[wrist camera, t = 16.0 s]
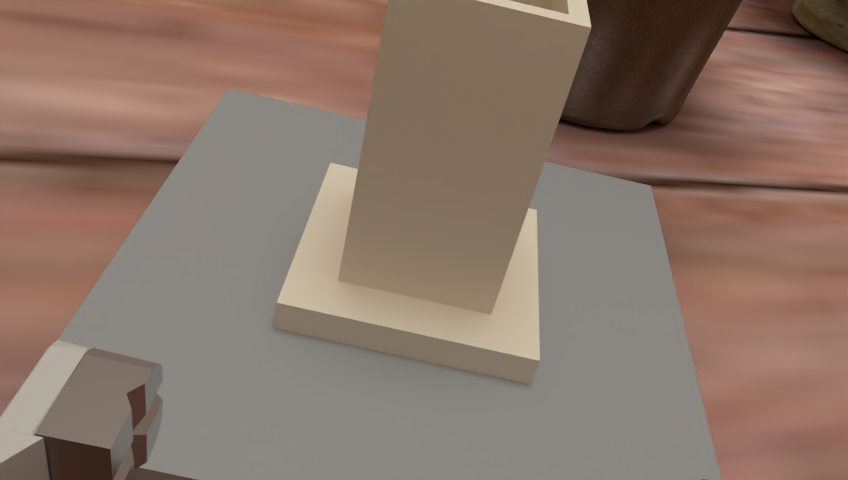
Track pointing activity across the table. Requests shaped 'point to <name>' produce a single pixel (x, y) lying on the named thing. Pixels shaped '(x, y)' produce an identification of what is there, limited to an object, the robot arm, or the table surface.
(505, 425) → the post plate
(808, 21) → the brown ceramic vase
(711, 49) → the plant pot
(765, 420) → the table surface
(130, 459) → the robot arm
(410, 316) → the collar
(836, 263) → the table surface
